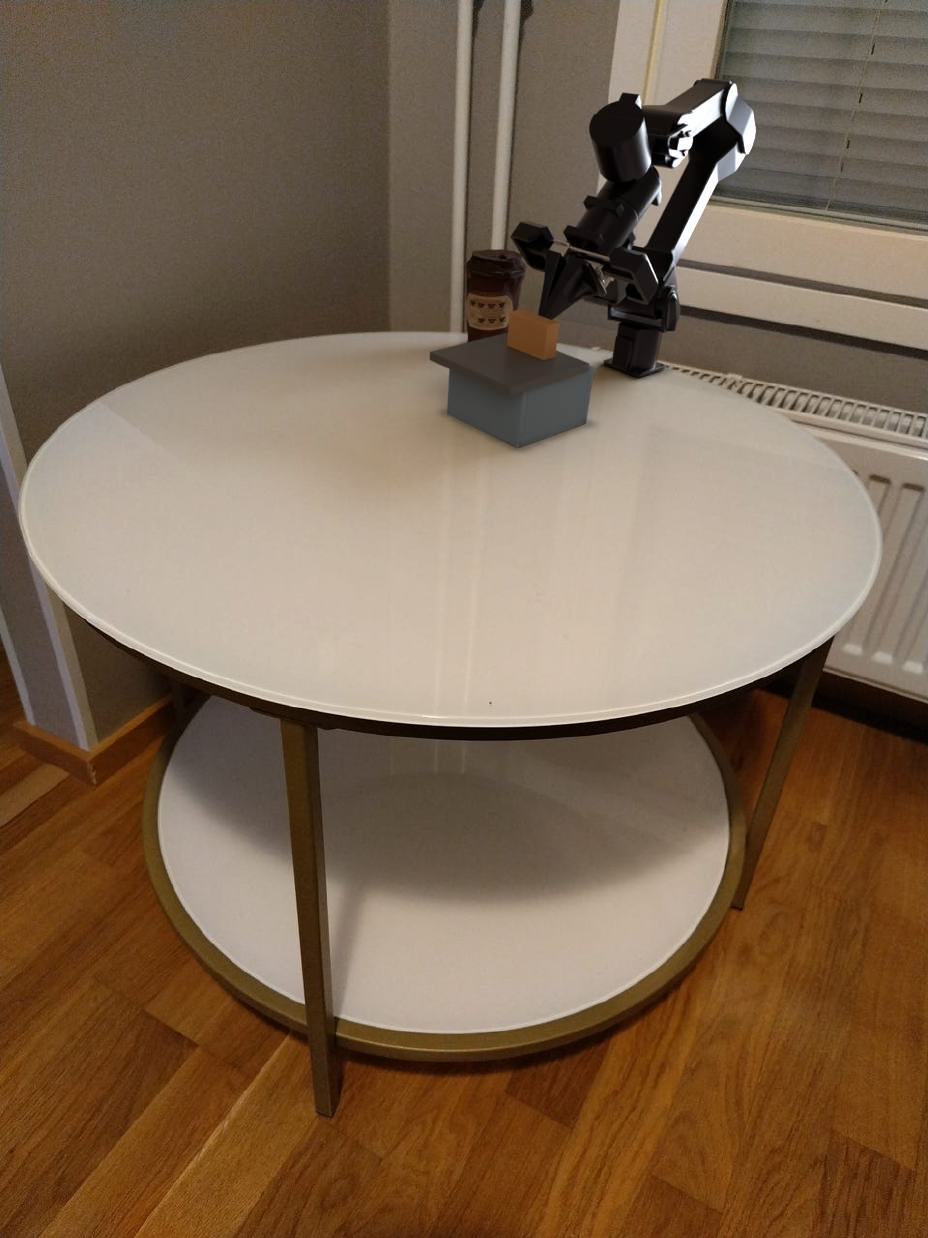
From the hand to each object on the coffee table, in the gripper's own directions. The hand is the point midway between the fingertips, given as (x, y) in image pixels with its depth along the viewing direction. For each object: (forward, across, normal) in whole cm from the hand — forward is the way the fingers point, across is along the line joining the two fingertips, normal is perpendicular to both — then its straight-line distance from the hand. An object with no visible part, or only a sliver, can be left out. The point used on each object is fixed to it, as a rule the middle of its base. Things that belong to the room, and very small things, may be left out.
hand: (541, 321), depth 99 cm
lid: (+6, 0, 0) cm, 6 cm away
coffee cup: (-1, +20, -17) cm, 26 cm away
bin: (+10, 0, -6) cm, 12 cm away
